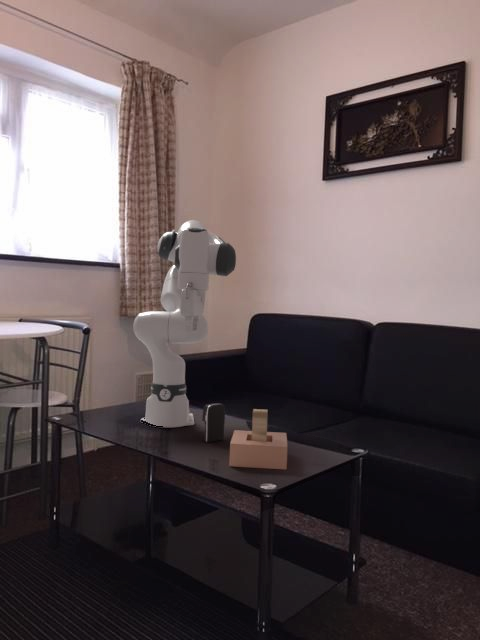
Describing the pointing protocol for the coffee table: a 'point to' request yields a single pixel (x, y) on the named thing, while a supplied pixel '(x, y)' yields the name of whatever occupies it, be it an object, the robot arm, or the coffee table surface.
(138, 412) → the coffee table surface
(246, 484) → the coffee table surface
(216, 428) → the battery charger
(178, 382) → the robot arm
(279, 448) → the terracotta socket block
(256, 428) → the maple pin
